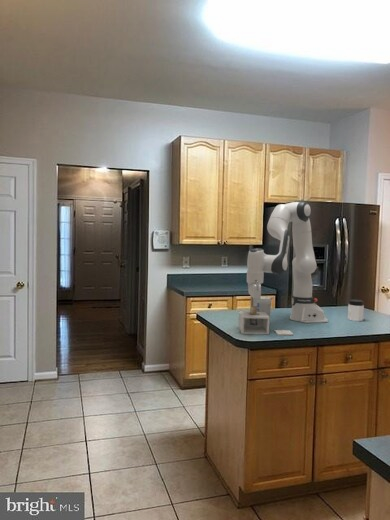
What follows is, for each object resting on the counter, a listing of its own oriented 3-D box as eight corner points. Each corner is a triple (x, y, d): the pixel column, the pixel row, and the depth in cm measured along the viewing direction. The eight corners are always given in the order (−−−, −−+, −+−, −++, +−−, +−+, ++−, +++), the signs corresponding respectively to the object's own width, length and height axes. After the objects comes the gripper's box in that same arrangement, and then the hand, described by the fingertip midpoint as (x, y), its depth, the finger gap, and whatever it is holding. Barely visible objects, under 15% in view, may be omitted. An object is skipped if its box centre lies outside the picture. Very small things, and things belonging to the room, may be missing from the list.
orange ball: (256, 323, 219) (256, 316, 219) (257, 325, 215) (258, 317, 215) (249, 323, 219) (249, 315, 219) (250, 325, 215) (250, 317, 215)
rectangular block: (255, 316, 218) (256, 293, 217) (256, 317, 215) (257, 294, 214) (249, 316, 218) (250, 293, 217) (250, 317, 215) (251, 294, 214)
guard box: (264, 327, 224) (264, 311, 224) (268, 334, 210) (269, 317, 210) (238, 327, 224) (239, 311, 223) (241, 333, 210) (242, 316, 209)
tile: (289, 331, 216) (289, 330, 216) (293, 335, 208) (293, 334, 208) (274, 331, 216) (274, 329, 216) (277, 335, 208) (277, 333, 208)
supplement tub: (251, 323, 235) (252, 297, 234) (255, 320, 243) (256, 295, 242) (268, 325, 231) (269, 299, 230) (271, 321, 240) (272, 297, 239)
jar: (345, 318, 256) (346, 299, 255) (358, 318, 256) (359, 299, 256) (351, 321, 247) (352, 301, 246) (365, 321, 247) (366, 301, 247)
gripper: (264, 281, 205) (263, 309, 206) (257, 277, 225) (256, 302, 226) (251, 281, 205) (250, 308, 206) (246, 276, 225) (245, 301, 226)
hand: (253, 305), depth 216 cm, fingers closed on rectangular block, 3 cm apart
